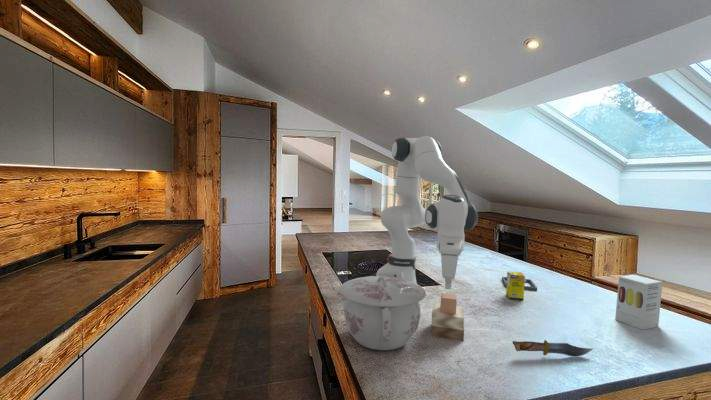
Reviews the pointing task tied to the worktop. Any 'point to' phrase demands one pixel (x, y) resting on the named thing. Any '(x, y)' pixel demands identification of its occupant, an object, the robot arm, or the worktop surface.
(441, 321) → the birch slab
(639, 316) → the supplement box
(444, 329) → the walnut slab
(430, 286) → the worktop surface
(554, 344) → the knife
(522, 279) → the supplement box
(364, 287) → the chamber pot
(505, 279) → the grey square frame
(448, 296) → the terracotta block
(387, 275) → the robot arm
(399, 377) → the worktop surface
